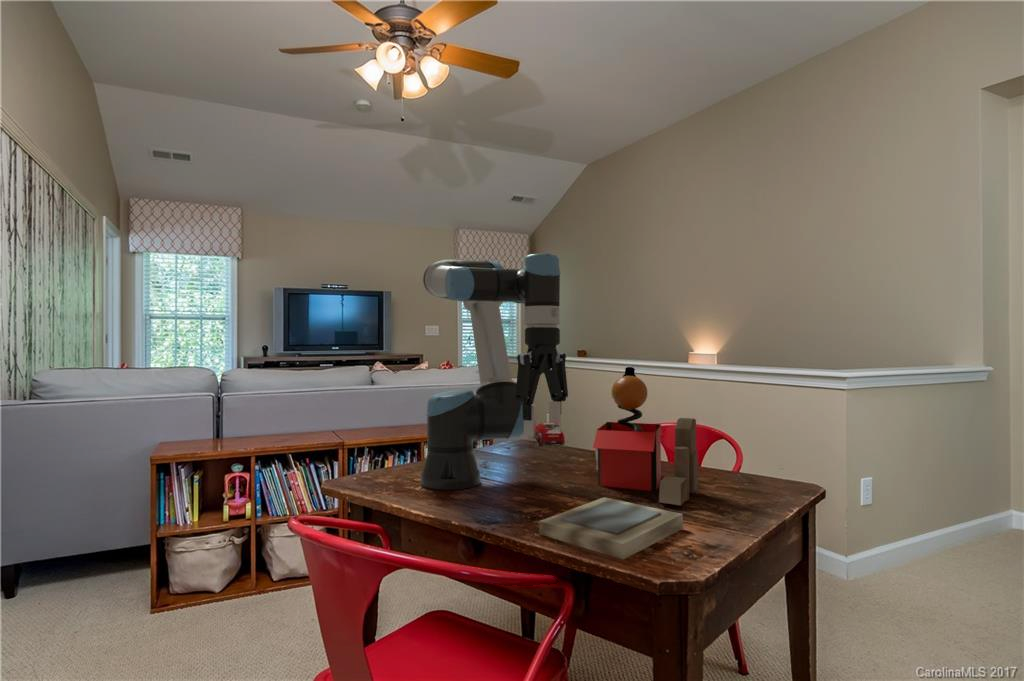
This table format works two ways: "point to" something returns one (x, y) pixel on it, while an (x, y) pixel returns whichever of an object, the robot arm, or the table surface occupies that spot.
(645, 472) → the jack-in-the-box
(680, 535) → the table surface
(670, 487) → the wooden block set
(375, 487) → the table surface
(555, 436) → the race car
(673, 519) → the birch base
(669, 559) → the table surface
